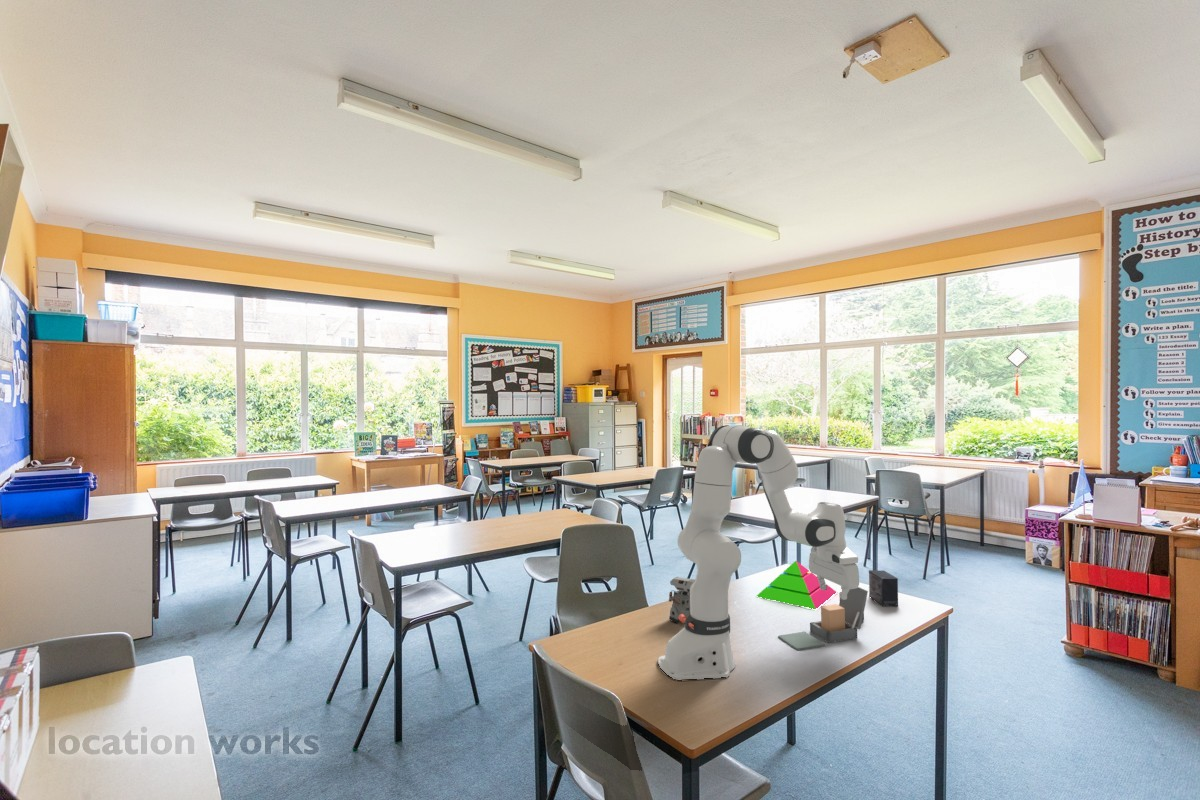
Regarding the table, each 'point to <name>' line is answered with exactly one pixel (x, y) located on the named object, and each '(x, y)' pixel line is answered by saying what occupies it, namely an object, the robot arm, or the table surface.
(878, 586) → the small box
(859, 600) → the equipment case
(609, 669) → the table surface
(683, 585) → the figurine
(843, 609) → the block
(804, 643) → the rubber mat
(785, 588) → the pyramid toy
